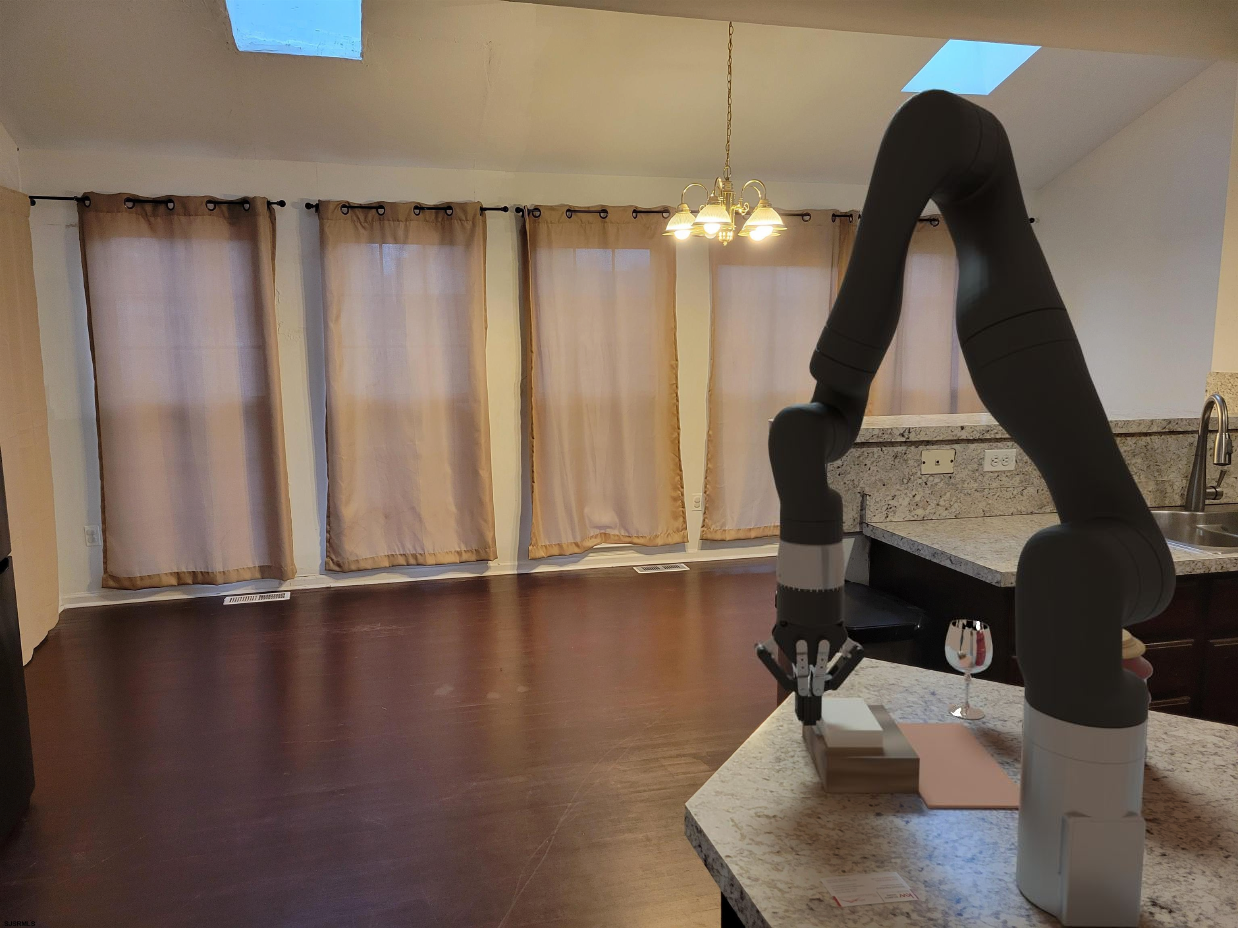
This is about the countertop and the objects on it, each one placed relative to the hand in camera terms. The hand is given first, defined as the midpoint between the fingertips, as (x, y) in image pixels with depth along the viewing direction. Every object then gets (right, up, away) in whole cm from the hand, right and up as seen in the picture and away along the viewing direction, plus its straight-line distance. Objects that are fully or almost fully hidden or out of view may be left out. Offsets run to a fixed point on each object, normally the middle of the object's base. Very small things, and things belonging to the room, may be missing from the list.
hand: (808, 722), depth 96 cm
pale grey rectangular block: (+4, -1, 0) cm, 4 cm away
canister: (+33, -5, +2) cm, 33 cm away
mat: (+16, -5, 0) cm, 17 cm away
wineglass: (+24, -3, +14) cm, 28 cm away
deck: (+6, -5, +1) cm, 8 cm away
